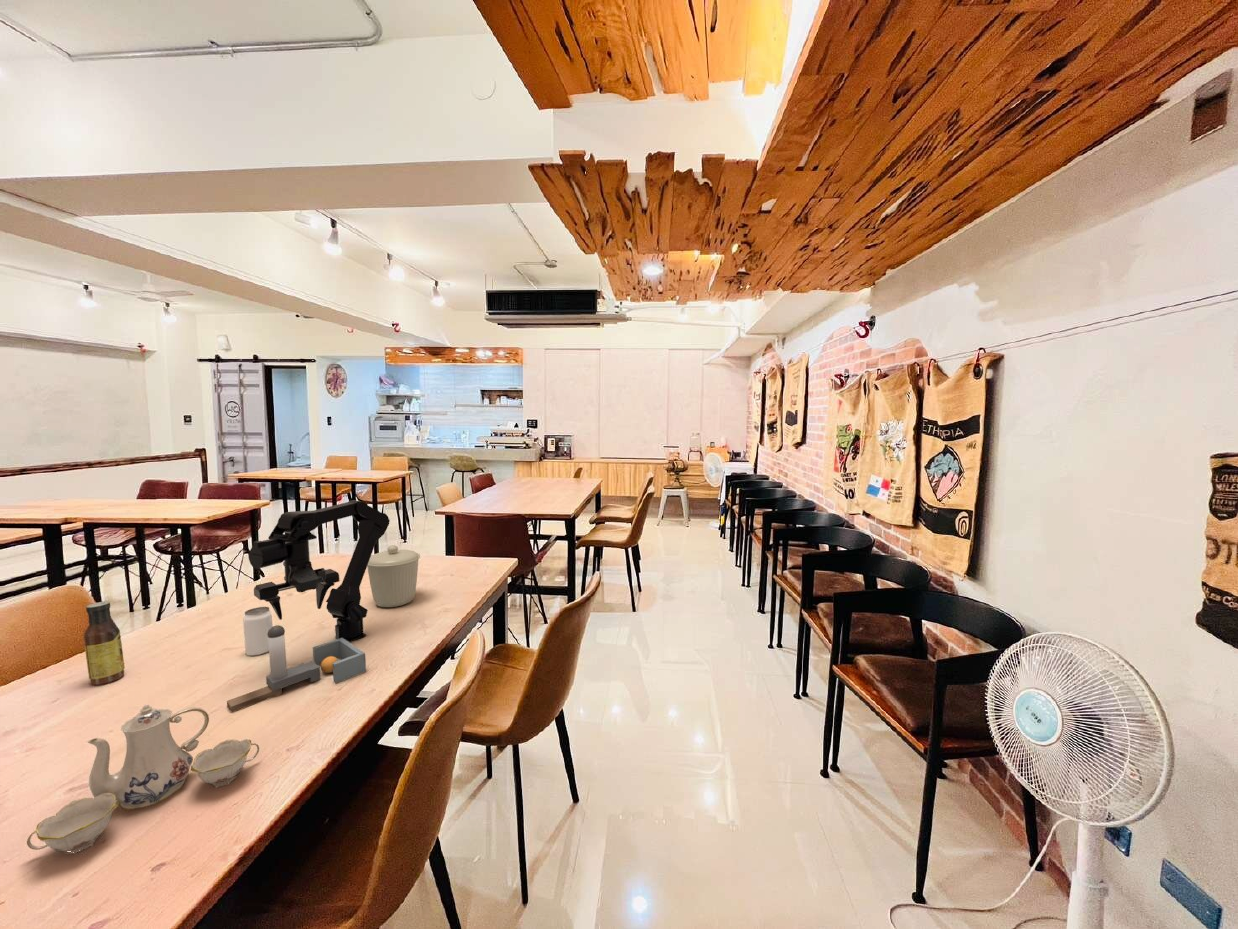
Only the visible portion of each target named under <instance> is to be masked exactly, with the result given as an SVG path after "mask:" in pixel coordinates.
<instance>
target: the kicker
mask: <svg viewBox="0 0 1238 929" xmlns="http://www.w3.org/2000/svg"><path fill="white" fill-rule="evenodd" d="M272 626H273V627H271V628H270V629H269V631H268V634H267V635H268V642H269V652H268V653H269V669H270V674H268V675H266V676H265V682H266V685H267V686H269V687H270V688H271V689H272V690H273V691H275V690H278V689H281V688H282V689H283V688H287V687H288V686H291V685H293V684H296V683H299V682H302V681H304V680H306V679H307V680H308V681H309V682H310V683H313V682H317V681H319V680H321V671H320V670H321V666H320V665H317V664H315V663H314V662H313V660H311V661H307V662H305V663H304V662H303V663H300V664H297V665H294V666H291V667H289V668H287V654H286V637H285V632H286V630H285V628H284V627H283V626H282V625H276V624H275V625H272Z"/></svg>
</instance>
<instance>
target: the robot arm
mask: <svg viewBox="0 0 1238 929" xmlns="http://www.w3.org/2000/svg"><path fill="white" fill-rule="evenodd" d="M349 517H352V518H353V519H354V520H355V521H356V522H357V523H358V525H357V532H358V540H357V543H356V546H355V549H354V551H353V554H352V556H351V558H350V561H349V563H348V566H347V569H346V572H345V574H344V577H343V580H342V582H341V584H340V585H339V586H338V587H337V588H333V587H334V586H335V583H339V582H340V581H341V579H340V574H339V572H337V571H336V570H333V569H332V568H327V569H325V568H324V567H321V568H317V569H313V565H312V561H311V560H310V542H309V541H311V540H316V539H317V538H318V536H317V535H315V534H313V533H312V531H314V530H316V529H317V528H318V527H319V526H321V525H323V524H327V523H331V522H335V521H337V520H341V519H345V518H349ZM390 522H391V521H390V518H389V516H388V515H387V514H386V513H384V512H381V511H379V510H378V509H376V508H374V507H372V506H370V505H368V504H367V503H365V502H364V501H361V500H356V499H355V500H348V501H347V502H343V503H338V504H335V505H334V504H333V505H331V506H327V507H322V508H318V509H315V510H297V511H295V510H294V511H286V512H283V513H281V514H280V516H279V517H278V520H277V524H276V525H275V526H274V528H273V529H272V531H271V533H270V535H268V539H264V540H258V541H257V540H256V541H253V542H252V544H253V545H252V547H251V548H250V549H249V553H248V555H247V556H248V561H249V564H250V565H251V566H252V568H253V569H256V570H259V569H262V568H267V567H270V566H271V567H272V566H275V565H278V564H282V563H283V567H284V577H283V580H284V581H285V582H282V583H278V584H276V583H275V582H273V581H269V582H264V583H263V582H262V583H259V584H256V585H255V586H254V588H253V595H254V597H256V598H257V599H258V600H259V601H264V602H267V603H269V604H270V606H271V607H272V609H273V611H274V613H275V614H276V616H277V618H278V620H280V621H281V620H283V613H282V607H281V596H279V592H282V591H287V590H291V589H295V591H296V592H298V593H305V592H306V591H311V590H315V595H316V596H315V597H316V598H315V599H316V607H317V609H318V610H320V609H321V608H322V605H323V602H324V600H325V598H326V594H327V592H328V591H329V589H330V588H331V587H332V588H331V590H330V591H329V595H328V598H327V599H326V600H325V602H326V610H327V612H328V613H329V614H330V615H331V617H332V618H333V619H336V624H335V625H334V628H335V629H334V630H335V639H339V638H344V639H345V640H346V641H348V642H349V643H351V642H353V641H355V640H358V638H359V639H361V638H363V637H366V636H367V634H366V633H365V632H364V618H366V617H367V616H368V615H367V614H368V608H365V607H364V606H363V605H360V604H361V599H362V597H361V589H360V587H361V584H362V581H363V579H364V576H365V572H366V570H367V569H368V568H367V565H368V562H369V560H370V557H371V556H372V555H373V551H374V548H375V547H376V546H375V545H376V543H377V542H378V540H379V539H381V537H383V536H384V535H385V533H386V531H387V529H388V527H389V525H390Z"/></svg>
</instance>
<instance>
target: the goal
mask: <svg viewBox="0 0 1238 929" xmlns="http://www.w3.org/2000/svg"><path fill="white" fill-rule="evenodd" d="M330 656H333V657H336V658H338V659H339V660H338V661H337V662H334V663H333V672H332V674H333V680H332V681H333V683H334V684H338V683H341V682H344V681H346V680H348V679H350V678H354V677H356V676H358V674H359V675H360V674H363V673H366V672H367V664H366V663H367V662H366V661H367V660H366V653H365V652H364V651H363V650H362V649H360V648H358V647H357V646H355V645H353V643H351V642H348V641H346V640H345V639H344V638H339V639H337V638H335V639H334V640H331V641H328V642H324V643H322V644H319V645H315V646H313V647H312V661H313V662H314V663H315V664H317V665H318V666H321V665H320V664H321V663H322V661H323V660H324V659H325V658H327V657H330ZM345 679H346V680H345Z"/></svg>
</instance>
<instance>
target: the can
mask: <svg viewBox="0 0 1238 929" xmlns="http://www.w3.org/2000/svg"><path fill="white" fill-rule="evenodd" d="M242 620H243V621H242V622H243V636H244V637H243V638H244V647H245V654H246V656H249V655H250V656H251V657H256V656H262V655H265V654H268V653H269V642H268V635H267V634H268V631H269V629H270V628H271V627H273V626H274V625H273V614H272V612H271V610H270V607H269V606H258V607H253V608H251V609H248V610H246V611H245V612H244V616H243V619H242Z"/></svg>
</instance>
